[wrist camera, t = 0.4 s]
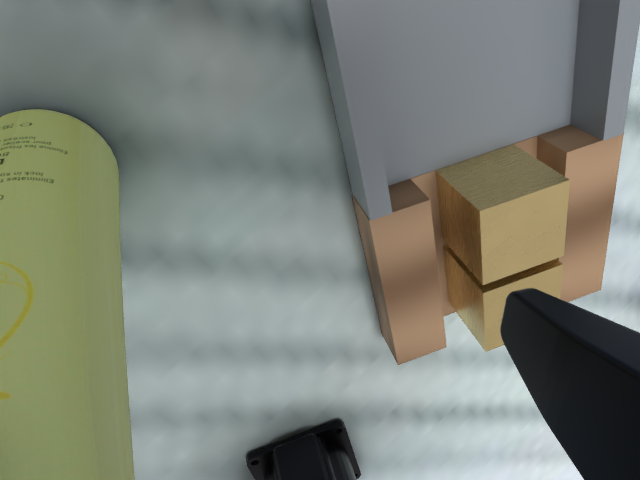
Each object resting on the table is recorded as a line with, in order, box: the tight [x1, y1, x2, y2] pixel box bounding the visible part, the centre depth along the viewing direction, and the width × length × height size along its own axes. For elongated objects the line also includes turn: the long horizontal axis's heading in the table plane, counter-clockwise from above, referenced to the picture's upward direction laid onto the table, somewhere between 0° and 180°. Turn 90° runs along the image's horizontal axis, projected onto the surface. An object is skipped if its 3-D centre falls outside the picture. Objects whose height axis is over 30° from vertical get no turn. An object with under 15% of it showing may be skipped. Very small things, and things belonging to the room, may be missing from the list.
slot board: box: [352, 125, 624, 365], centre depth 25 cm, size 10×12×2 cm
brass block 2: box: [443, 245, 563, 351], centre depth 25 cm, size 4×4×4 cm
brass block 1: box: [435, 144, 570, 285], centre depth 23 cm, size 4×4×4 cm
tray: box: [311, 0, 640, 221], centre depth 19 cm, size 11×12×2 cm
